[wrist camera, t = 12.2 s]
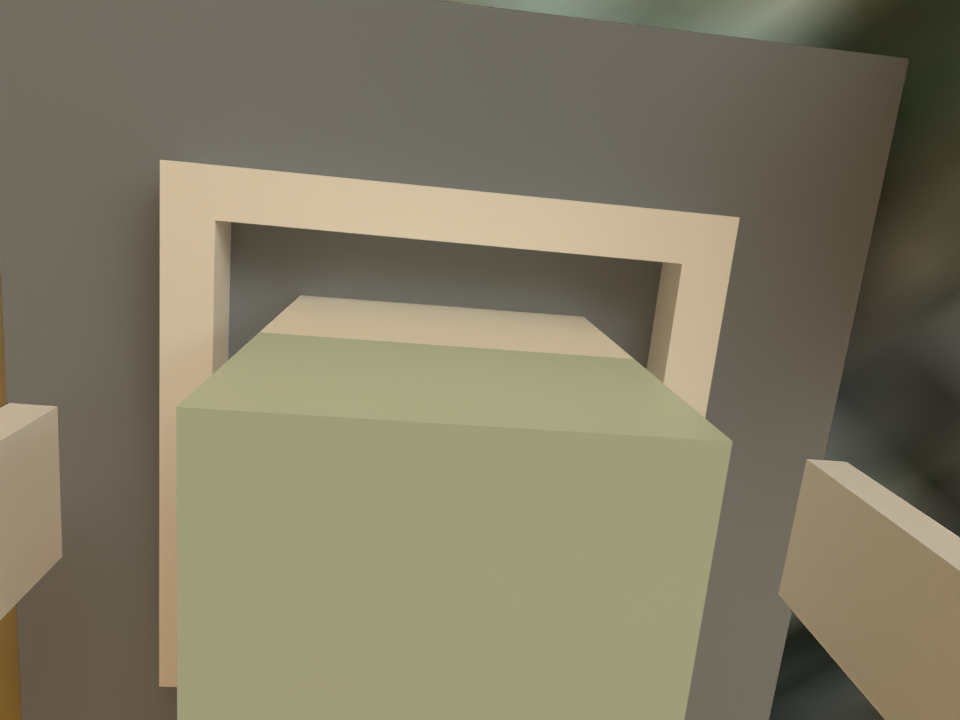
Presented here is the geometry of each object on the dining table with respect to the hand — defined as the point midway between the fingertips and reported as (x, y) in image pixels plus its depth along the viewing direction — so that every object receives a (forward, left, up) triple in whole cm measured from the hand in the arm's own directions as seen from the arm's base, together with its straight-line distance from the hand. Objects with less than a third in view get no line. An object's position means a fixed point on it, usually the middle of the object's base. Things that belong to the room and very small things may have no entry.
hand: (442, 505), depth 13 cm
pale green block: (0, 0, -3) cm, 3 cm away
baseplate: (0, 0, -5) cm, 5 cm away
